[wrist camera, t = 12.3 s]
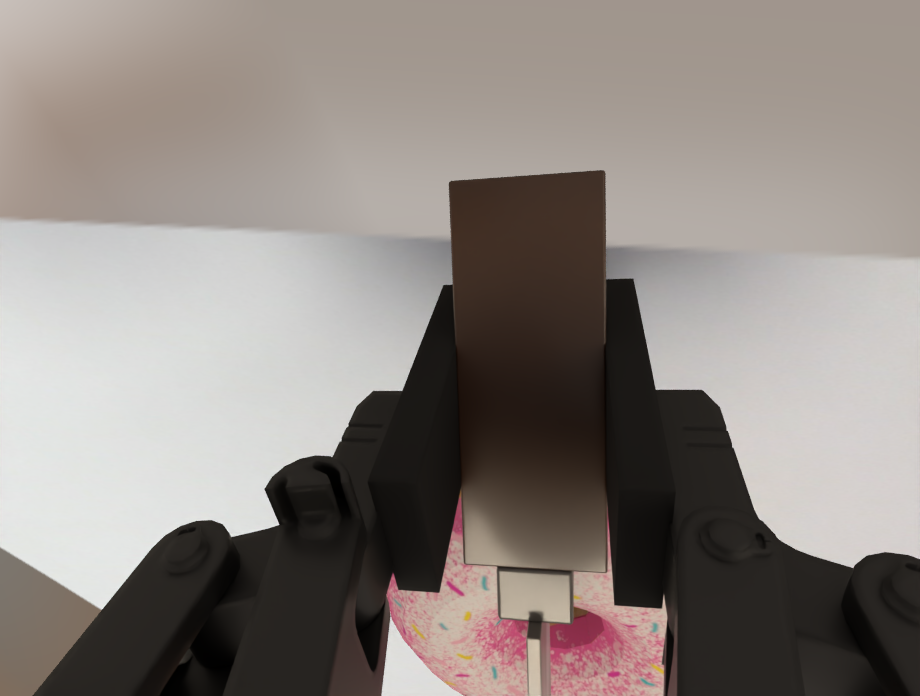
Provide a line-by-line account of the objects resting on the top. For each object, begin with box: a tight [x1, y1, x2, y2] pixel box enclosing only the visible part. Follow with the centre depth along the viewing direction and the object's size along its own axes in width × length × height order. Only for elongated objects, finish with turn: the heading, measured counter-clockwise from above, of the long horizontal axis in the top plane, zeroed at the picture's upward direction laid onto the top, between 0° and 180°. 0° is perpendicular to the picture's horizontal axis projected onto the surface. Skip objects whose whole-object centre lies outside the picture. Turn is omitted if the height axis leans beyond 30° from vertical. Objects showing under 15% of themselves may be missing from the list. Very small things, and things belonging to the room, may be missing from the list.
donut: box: [387, 491, 667, 696], centre depth 23 cm, size 14×13×5 cm
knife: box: [449, 170, 608, 696], centre depth 13 cm, size 20×3×4 cm, turn 7°
